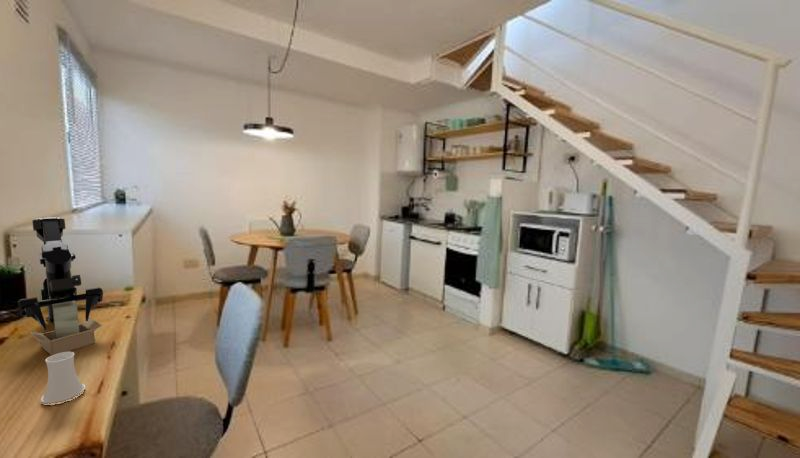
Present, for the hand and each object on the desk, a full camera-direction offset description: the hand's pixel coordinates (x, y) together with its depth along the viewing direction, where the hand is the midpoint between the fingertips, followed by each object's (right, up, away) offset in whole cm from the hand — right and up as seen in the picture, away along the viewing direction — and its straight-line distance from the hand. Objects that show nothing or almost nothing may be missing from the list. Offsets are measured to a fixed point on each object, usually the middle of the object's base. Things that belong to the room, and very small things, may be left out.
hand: (66, 324), depth 104 cm
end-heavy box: (-1, -7, +2) cm, 7 cm away
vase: (+21, -11, -22) cm, 33 cm away
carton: (-1, -7, +2) cm, 7 cm away
